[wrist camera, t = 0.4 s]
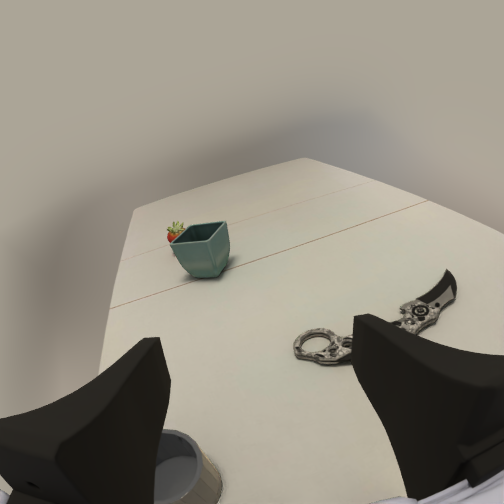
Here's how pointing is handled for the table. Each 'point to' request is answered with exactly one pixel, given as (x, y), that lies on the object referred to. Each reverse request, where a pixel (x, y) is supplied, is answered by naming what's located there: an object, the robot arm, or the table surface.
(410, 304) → the knife
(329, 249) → the table surface
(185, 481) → the holder
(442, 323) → the table surface
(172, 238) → the fruit
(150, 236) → the table surface
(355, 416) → the table surface
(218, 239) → the flower pot
